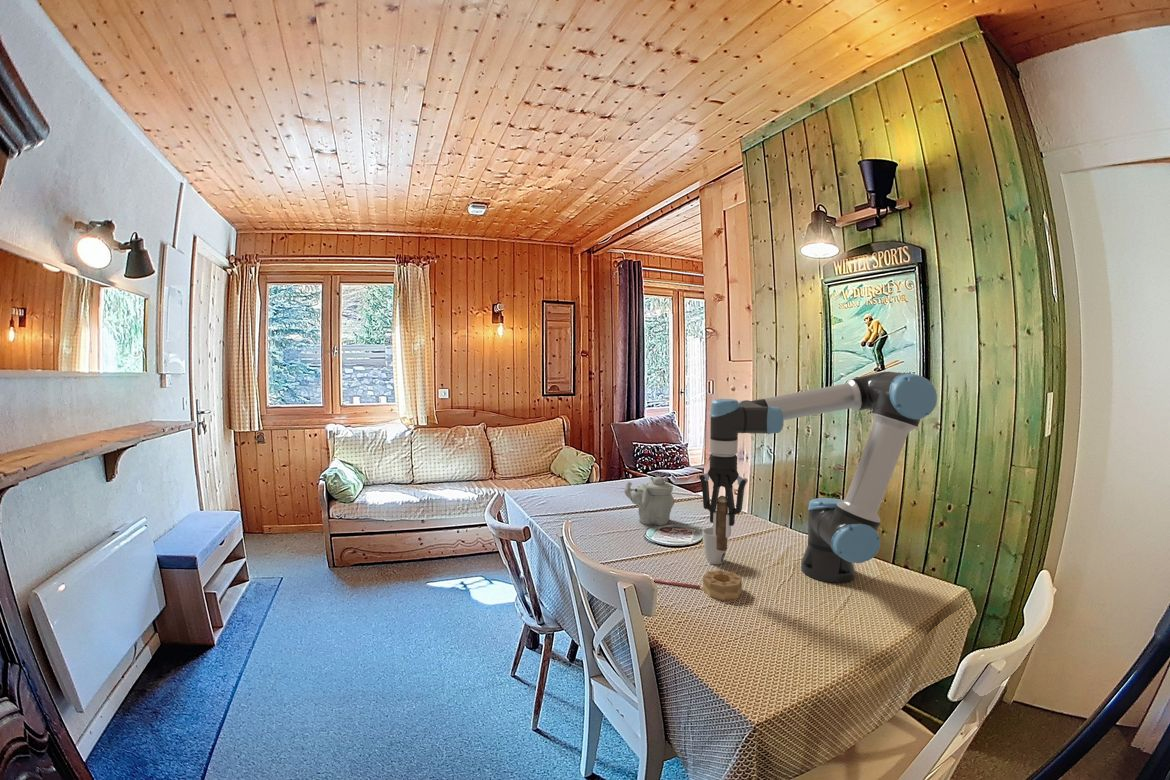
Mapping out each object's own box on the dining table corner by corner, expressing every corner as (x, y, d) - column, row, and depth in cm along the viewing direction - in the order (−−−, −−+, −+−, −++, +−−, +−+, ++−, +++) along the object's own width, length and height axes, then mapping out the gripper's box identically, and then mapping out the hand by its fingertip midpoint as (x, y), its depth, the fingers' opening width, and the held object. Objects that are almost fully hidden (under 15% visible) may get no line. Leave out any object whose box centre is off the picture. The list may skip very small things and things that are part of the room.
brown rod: (728, 548, 153) (729, 495, 151) (725, 551, 150) (726, 498, 149) (717, 546, 154) (718, 493, 153) (714, 549, 152) (715, 496, 150)
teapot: (623, 519, 216) (622, 474, 215) (649, 512, 226) (649, 468, 224) (651, 531, 203) (651, 482, 202) (678, 522, 212) (678, 476, 211)
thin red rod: (700, 587, 156) (700, 585, 156) (700, 589, 155) (700, 586, 155) (652, 580, 161) (652, 578, 160) (651, 582, 160) (651, 579, 160)
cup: (728, 567, 170) (728, 536, 169) (702, 565, 171) (702, 535, 171) (726, 557, 178) (727, 528, 177) (702, 555, 179) (702, 526, 178)
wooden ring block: (743, 588, 155) (744, 574, 155) (735, 602, 147) (735, 588, 146) (710, 580, 160) (710, 568, 160) (699, 594, 152) (699, 581, 151)
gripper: (755, 454, 149) (753, 535, 151) (700, 448, 157) (698, 526, 159) (749, 459, 143) (747, 544, 145) (691, 453, 151) (690, 534, 153)
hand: (721, 534), depth 152 cm, fingers closed on brown rod, 3 cm apart
